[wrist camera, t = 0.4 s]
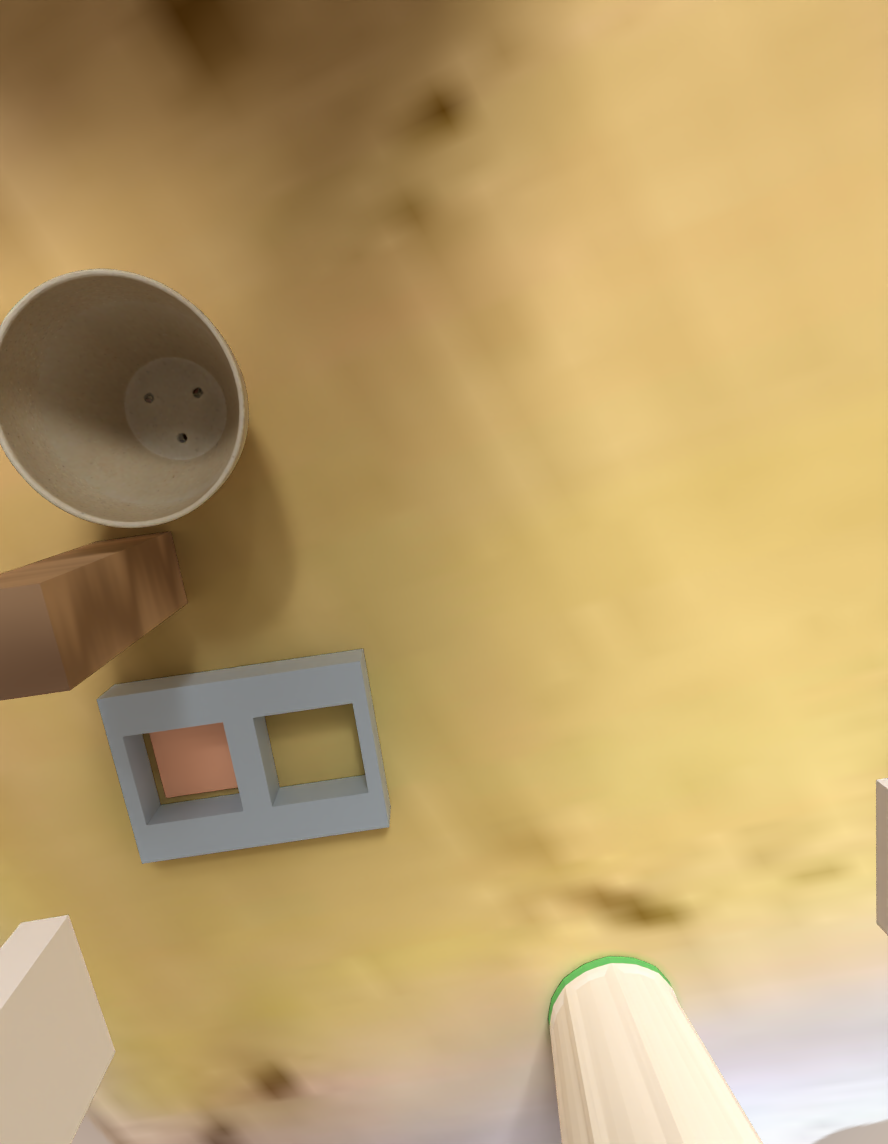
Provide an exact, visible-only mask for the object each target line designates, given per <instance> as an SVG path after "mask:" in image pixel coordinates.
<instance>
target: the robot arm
mask: <svg viewBox="0 0 888 1144" xmlns="http://www.w3.org/2000/svg"><path fill="white" fill-rule="evenodd" d="M876 913H877V924H878V925H879V927H880V928H881V929H882V930H883V931H884V932H885V933H886V934H887V935H888V778H885V779H879V780H876ZM114 1054H115V1049H114V1046H113V1043H112V1040H111V1037H110V1034H109V1031H108V1028H107V1026H106V1023H105V1020H104V1017H103V1014H102V1011H101V1008H100V1005H99V1002H98V999H97V996H96V993H95V990H94V988H93V985H92V982H91V979H90V976H89V973H88V970H87V967H86V964H85V961H84V958H83V955H82V952H81V949H80V947H79V944H78V941H77V938H76V935H75V932H74V929H73V926H72V923H71V920H70V917H69V915H64V916H58V917H52V918H46V919H40V920H34V921H28V922H22V923H20V925H19V926H18V927H17V928H16V930H15V931H14V932H13V933H12V935H11V936H10V937H9V938H8V940H7V941H6V942H5V943H4V945H3V946H2V947H1V948H0V1144H71V1143H72V1140H73V1139H74V1137H75V1135H76V1133H77V1130H78V1128H79V1126H80V1124H81V1122H82V1120H83V1118H84V1116H85V1114H86V1112H87V1110H88V1108H89V1106H90V1104H91V1102H92V1099H93V1097H94V1095H95V1093H96V1091H97V1089H98V1087H99V1085H100V1083H101V1081H102V1079H103V1077H104V1075H105V1073H106V1071H107V1068H108V1066H109V1064H110V1062H111V1060H112V1058H113V1056H114Z"/></svg>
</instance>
